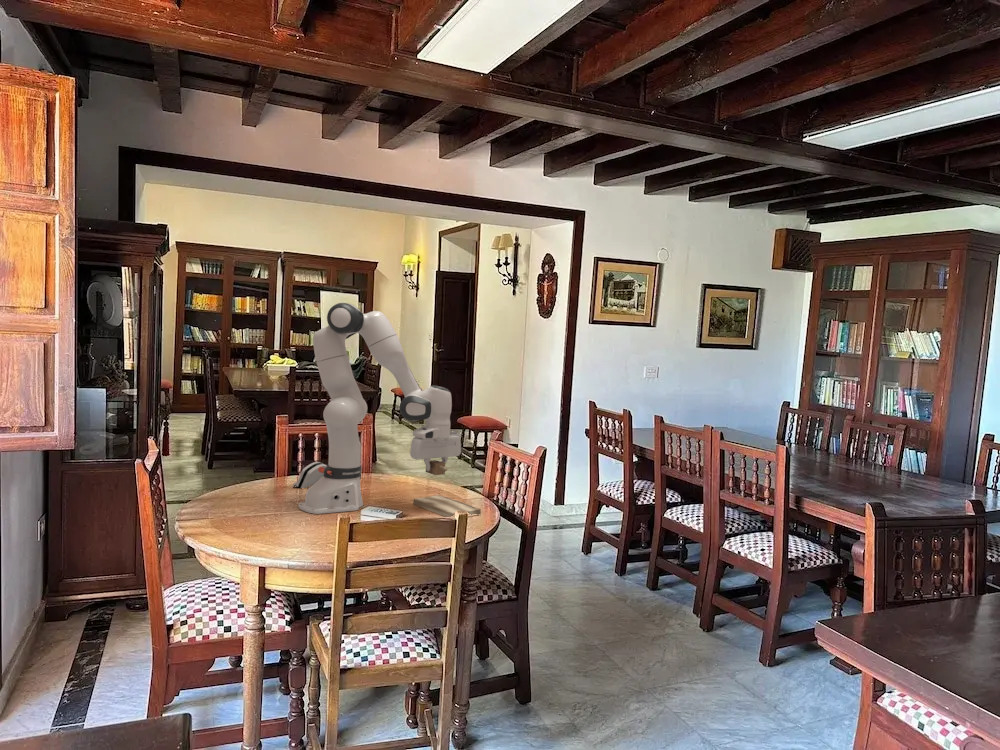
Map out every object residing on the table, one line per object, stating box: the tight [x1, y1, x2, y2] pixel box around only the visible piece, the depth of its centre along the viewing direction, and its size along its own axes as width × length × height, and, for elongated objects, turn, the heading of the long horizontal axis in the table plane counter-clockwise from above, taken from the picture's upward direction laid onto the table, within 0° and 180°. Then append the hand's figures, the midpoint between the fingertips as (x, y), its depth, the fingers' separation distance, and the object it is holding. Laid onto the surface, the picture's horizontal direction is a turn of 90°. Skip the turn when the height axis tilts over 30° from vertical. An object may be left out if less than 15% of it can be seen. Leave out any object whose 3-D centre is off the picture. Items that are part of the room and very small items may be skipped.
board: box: [412, 494, 482, 518], centre depth 242 cm, size 12×24×2 cm, turn 42°
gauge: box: [425, 459, 448, 476], centre depth 241 cm, size 10×4×4 cm, turn 41°
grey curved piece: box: [292, 461, 328, 489], centre depth 270 cm, size 17×5×10 cm, turn 166°
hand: (435, 469), depth 242 cm, fingers closed on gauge, 4 cm apart
